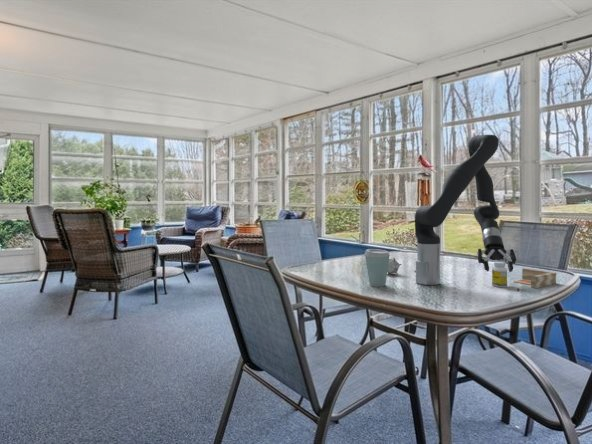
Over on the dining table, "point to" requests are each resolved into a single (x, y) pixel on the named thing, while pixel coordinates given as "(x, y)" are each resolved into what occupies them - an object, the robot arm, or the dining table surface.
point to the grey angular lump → (393, 266)
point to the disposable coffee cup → (377, 266)
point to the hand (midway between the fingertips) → (499, 270)
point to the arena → (537, 278)
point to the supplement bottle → (499, 275)
